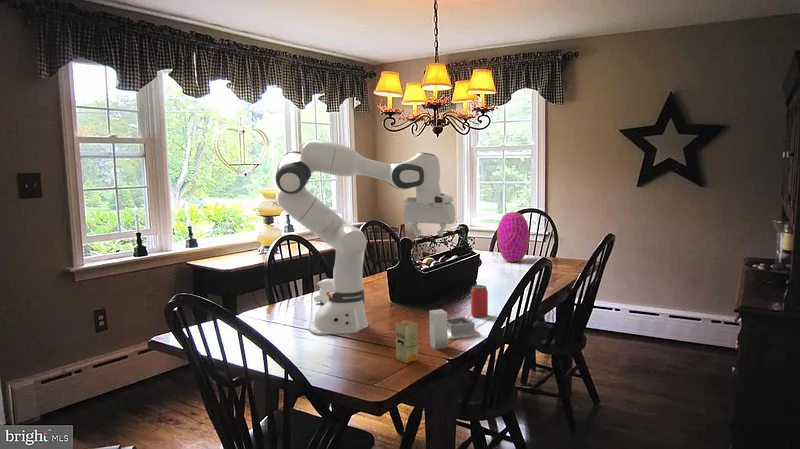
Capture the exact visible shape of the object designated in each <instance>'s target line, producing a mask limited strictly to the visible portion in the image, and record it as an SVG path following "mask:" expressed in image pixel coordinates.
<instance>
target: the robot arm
mask: <svg viewBox="0 0 800 449" xmlns="http://www.w3.org/2000/svg"><path fill="white" fill-rule="evenodd" d="M440 166H441V165H440V160H439V158H438V156H437V155H435V154H433V153H428V152H418V153H417V154H416V155H414V156H412V157H411V158H409V159H407V160H405V161H397V162H396V161H395V162H393V163H388V162H382V161H378V160H373V159H370V158H367V157H365V156H363V155H362V154H360V153H359V152H358V151H356V150H355V149H353V148H351V147H349V146H346V145H344V144H340V143H336V142H333V141H332V142H331V141H325V140H319V139H318V140H315V139H314V140H313V139H310V140H308V141H307V142H305V144H304V145H303V146H302V148H301V151H299V150H291V151H288V152H286V153H285V154H283V156H282V157H281V159H280V161H279V163H278V165H277V168H276V174H275V183H276V185H277V187H278V189H279V190H280V191H279V193H278V197H277V203H278V204H279V206H280V207H281V208H282V209H283V210H284V211H285V212H286V213H287V214H288V215H289V216H290V217H291V218H292V219H294V220H295V221H296V222H297V223H299V224H301V225H302V226H303V227H305V228H306V229H307V230H308V231H310V232H311V233H312V234H314V235H315V236H316V237H317V238H320V240H322V241H323V242H324V243H326V244H327V245H328V246H329V247H331V248H332V249H333V250H334V251H335V259H334V265H333V271H332V272H333V274H332V276H333V278H332V279H333V282H334V290H333V291H329V290H327V292H326V295H327V296H329V301H328V302H327V303H326V304H324V303H323V305H322V306H321V307H319V308H318V309H317V310H316V312H315V314H314V320H313V321H314V322H311V323H309V324H308V331H309V332H311V334H314V335H317V336H319V335H320V336H321V335H337V334H339V335H340V334H354V333H359V331H361V330H363V329H365V328H367V327H368V326H369V323H368V320H367V317H366V309H365V300H366V299H365V290H364V288H363V287H364V286H363V281H364V279H363V267H364V259H365V252H366V249H367V238H366V235H365V234H364V233H363V231H362V230H361V229H359V228H358V227H356V226H353V225H351V224H349V222H347V221H345V219H344V218H342V217H341V216H340V215H338V214H337V213H336V212H335V211H334V210H333V209H332V208H330V206H328V205H327V204H325V203H324V202H323V201H322V200H320V199H319V198H318V197H316V196H315V195H313V194H312V193H311V192H310V191H309V190H308V189H307V188H306V185H307V184H308V182H309V180H310V178H311V177H312V174H313V173H315V172H316V173H317V172H319V173H324V174H328V175H332V176H339V177H353V176H366V177H370V178H375V179H378V180H382V181H385V182H386V183H388V185H390V186H391V187H393V188H395V189H398V190H410V189H412V188H415V197H414V196H413V197H407V198H404V200H403V214H402V220H403V222H404V223H411V227H412V228H413V230H414V235H415V236H420V235H421V229H419V228H418V226H419V224H436V225H437V224H438V225H439V227H440V229H439V230H438V231H437V237H443V236H444V231H445V230H446V228H447V225H453V224H454V223H455V222H456V208H455V206H454V204H453V202H454V197H453V196H452V195H450V194H449V195H448V194H446V193H443V192H441V187H440V180H441V167H440Z"/></svg>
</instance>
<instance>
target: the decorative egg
mask: <svg viewBox="0 0 800 449" xmlns="http://www.w3.org/2000/svg"><path fill="white" fill-rule="evenodd" d="M496 243H497V248H498V251H499V254H500V255H501V257H502V258H503V259H504V260H505V261H507V262H510V263H517V262H520V261H521V260H523V259H524V257H525V255H526V254H527V253H528V252H527V251H528V249H529V245H530V244H529V243H530V230H529V225H528V222H527V219H526V218H525V217H524V215H522V213H519V212H517V211H510V212H507V213H505V214H504V215H503V216H502V217H501V219H500V220H499V223H498V226H497V232H496Z"/></svg>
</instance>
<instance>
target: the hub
mask: <svg viewBox="0 0 800 449" xmlns="http://www.w3.org/2000/svg"><path fill="white" fill-rule="evenodd" d="M479 336H481V333H480V332H479V331H477V330H476V329H475V322H473V320H472V319H470V318H467V317H465V316H458V317H450V318H447V339H448V340H456V339H464V338H472V337H479Z"/></svg>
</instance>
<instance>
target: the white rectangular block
mask: <svg viewBox="0 0 800 449" xmlns="http://www.w3.org/2000/svg"><path fill="white" fill-rule="evenodd" d="M428 311H429V312H428V313H429V317H428V318H429V346H431V348H433V349H434V350H438V349H447V348H448V345H449V343H448V340H449V339H448V338H447V319H448V312H447V311H446V310H444V309H441V308H440V309H432V310H431V309H430V310H428Z"/></svg>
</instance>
